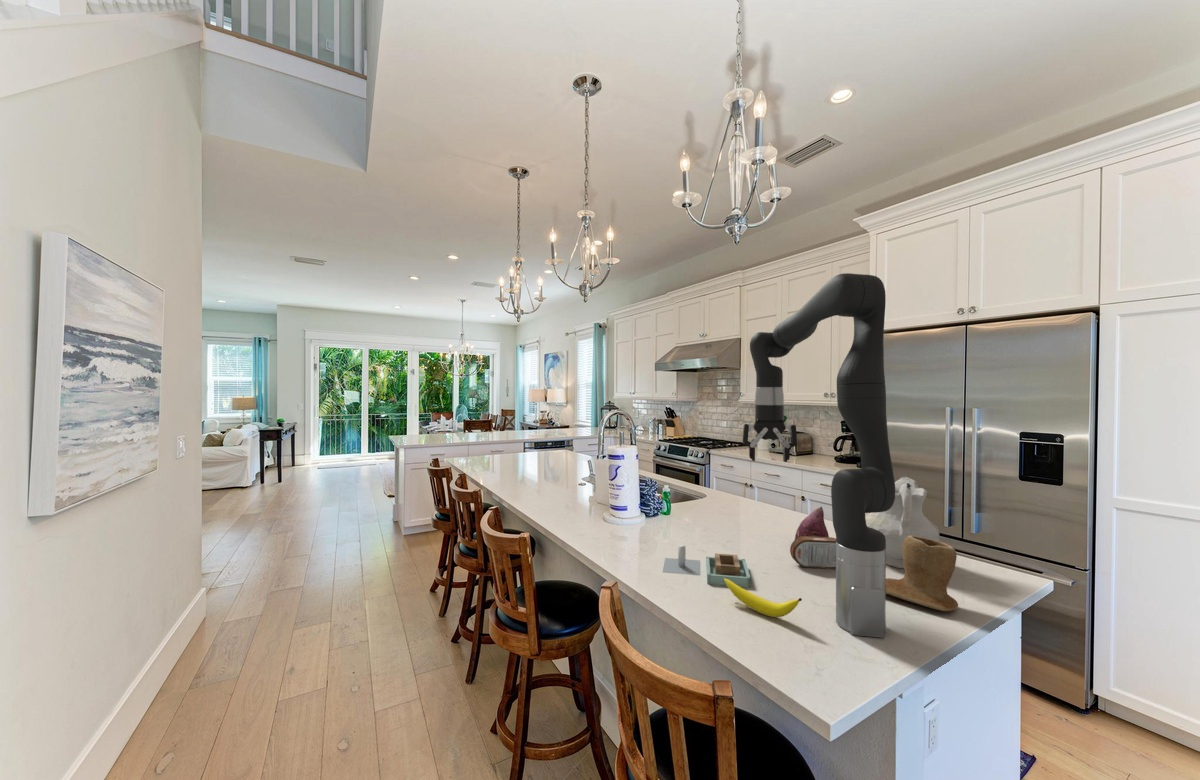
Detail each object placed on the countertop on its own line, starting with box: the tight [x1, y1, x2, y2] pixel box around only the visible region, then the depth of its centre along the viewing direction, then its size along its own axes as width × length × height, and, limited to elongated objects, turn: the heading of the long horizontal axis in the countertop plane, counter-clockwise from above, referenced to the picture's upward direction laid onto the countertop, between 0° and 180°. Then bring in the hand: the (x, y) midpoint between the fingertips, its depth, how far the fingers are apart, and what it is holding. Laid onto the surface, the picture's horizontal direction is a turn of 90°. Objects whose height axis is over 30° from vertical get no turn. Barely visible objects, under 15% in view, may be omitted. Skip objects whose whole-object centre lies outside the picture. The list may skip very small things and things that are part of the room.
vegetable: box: [794, 506, 830, 540], centre depth 149 cm, size 10×10×15 cm
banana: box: [724, 578, 802, 618], centre depth 105 cm, size 3×19×6 cm, turn 41°
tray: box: [705, 556, 752, 588], centre depth 125 cm, size 14×11×3 cm
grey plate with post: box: [662, 544, 701, 576], centre depth 131 cm, size 11×10×6 cm
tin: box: [789, 536, 836, 570], centre depth 132 cm, size 15×3×8 cm, turn 84°
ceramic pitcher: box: [865, 475, 940, 569], centre depth 135 cm, size 22×20×25 cm
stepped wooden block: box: [714, 553, 740, 576], centre depth 125 cm, size 9×6×4 cm, turn 168°
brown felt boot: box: [886, 535, 959, 612], centre depth 111 cm, size 15×12×15 cm
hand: (769, 461), depth 131 cm, fingers open, 8 cm apart
